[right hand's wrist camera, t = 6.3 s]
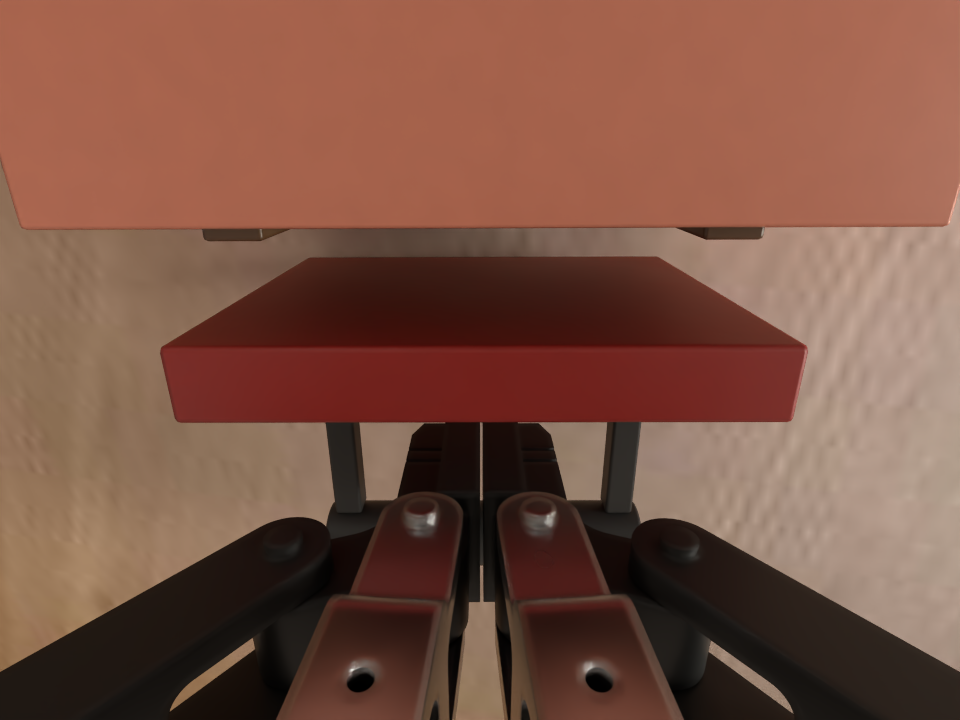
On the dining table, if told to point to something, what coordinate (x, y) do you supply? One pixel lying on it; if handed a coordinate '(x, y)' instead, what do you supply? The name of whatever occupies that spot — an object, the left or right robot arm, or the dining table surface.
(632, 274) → the drawer
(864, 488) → the dining table surface
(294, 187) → the cabinet
